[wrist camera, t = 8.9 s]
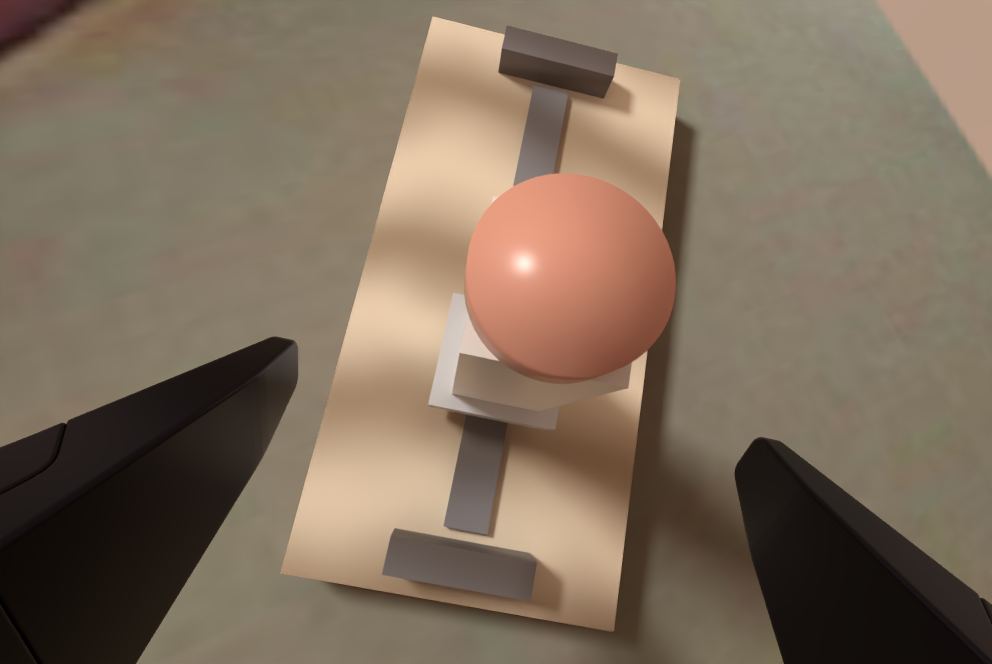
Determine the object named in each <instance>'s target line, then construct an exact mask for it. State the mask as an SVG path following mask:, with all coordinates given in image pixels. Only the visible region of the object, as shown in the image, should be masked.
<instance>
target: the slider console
mask: <svg viewBox="0 0 992 664" xmlns="http://www.w3.org/2000/svg"><path fill="white" fill-rule="evenodd" d="M617 55H618V54H617V53H613V52H609V51H605V50H601V49H597V48H593V47H589V46H585V45H581V44H577V43H573V42H569V41H566V40H562V39H558V38H554V37H550V36H546V35H542V34H538V33H534V32H530V31H526V30H522V29H518V28H515V27H511V26H507V28H506V32H505V35H504V34H500V33H496V32H492V31H488V30H484V29H480V28H476V27H472V26H468V25H464V24H460V23H456V22H452V21H448V20H444V19H441V18H437V17H433V18H432V21H431V25H430V29H429V32H428V36H427V39H426V43H425V47H424V50H423V54H422V58H421V61H420V65H419V69H418V72H417V76H416V80H415V83H414V87H413V91H412V94H411V98H410V102H409V105H408V109H407V112H406V116H405V120H404V123H403V127H402V131H401V134H400V138H399V142H398V145H397V149H396V153H395V156H394V160H393V164H392V167H391V171H390V174H389V178H388V182H387V185H386V189H385V193H384V196H383V200H382V204H381V207H380V211H379V215H378V218H377V222H376V226H375V229H374V233H373V237H372V240H371V244H370V247H369V251H368V255H367V258H366V262H365V266H364V269H363V273H362V277H361V280H360V284H359V288H358V291H357V295H356V299H355V302H354V306H353V309H352V313H351V317H350V320H349V324H348V328H347V331H346V335H345V339H344V342H343V346H342V350H341V353H340V357H339V361H338V364H337V368H336V371H335V375H334V379H333V382H332V386H331V390H330V393H329V397H328V401H327V404H326V408H325V412H324V415H323V419H322V423H321V426H320V430H319V434H318V437H317V441H316V444H315V448H314V452H313V455H312V459H311V463H310V466H309V470H308V474H307V477H306V481H305V485H304V488H303V492H302V496H301V499H300V503H299V506H298V510H297V514H296V517H295V521H294V525H293V528H292V532H291V536H290V539H289V543H288V547H287V550H286V554H285V558H284V561H283V565H282V568H281V572H280V573H282V574H287V575H293V576H299V577H304V578H310V579H316V580H321V581H327V582H333V583H338V584H344V585H350V586H355V587H361V588H367V589H372V590H378V591H384V592H389V593H395V594H401V595H407V596H412V597H418V598H424V599H429V600H435V601H441V602H446V603H452V604H458V605H463V606H469V607H475V608H480V609H486V610H492V611H497V612H503V613H509V614H514V615H520V616H526V617H531V618H537V619H543V620H549V621H554V622H560V623H566V624H571V625H577V626H583V627H588V628H594V629H600V630H605V631H611V632H614V625H615V617H616V609H617V600H618V592H619V584H620V575H621V567H622V559H623V550H624V542H625V534H626V525H627V517H628V509H629V500H630V492H631V484H632V475H633V467H634V459H635V450H636V442H637V434H638V425H639V417H640V409H641V401H642V392H643V384H644V376H645V367H646V359H647V351H648V350H647V351H646V352H645V353H644V354H643V355H641V356H640V357H639V358H638V359H636V360H635V361H633V362H632V365H631V373H630V381H629V388H627V389H623V390H619V391H615V392H611V393H608V394H604V395H600V396H596V397H592V398H588V399H584V400H580V401H576V402H572V403H569V404H565V405H561V406H559V410H558V416H557V423H556V429H555V430H546V431H545V430H541V429H536V428H531V427H526V426H521V425H516V424H511V423H506V422H501V421H496V420H491V419H486V418H481V417H476V416H471V415H466V414H461V413H456V412H451V411H446V410H441V409H436V408H431V407H429V405H428V403H429V398H430V394H431V389H432V385H433V380H434V376H435V372H436V367H437V363H438V358H439V354H440V349H441V345H442V340H443V336H444V331H445V327H446V323H447V318H448V314H449V309H450V305H451V300H452V296H453V293H457V294H462V295H464V278H465V271H466V263H467V256H468V249H469V245H470V241H471V238H472V235H473V232H474V230H475V228H476V226H477V224H478V222H479V220H480V219H481V217H482V215H483V214H484V212H485V211H486V210H487V209H488V207H489V206H490V205H491V204H492V199H493V196H495V197H499V196H501V195H502V194H503V193H504V192H506V191H507V190H509V189H510V188H512V187H513V186H515V185H517V184H519V183H521V182H523V181H526V180H529V179H532V178H535V177H538V176H543V175H548V174H560V173H567V174H579V175H585V176H590V177H593V178H597V179H600V180H603V181H605V182H607V183H610V184H612V185H614V186H616V187H618V188H619V189H621V190H623V191H625V192H626V193H628V194H629V195H630V196H632V197H633V198H634V199H636V200H637V201H638V202H639V203H640V204H641V205H642V206H643V207H644V208H645V209H646V210H647V211H648V212H649V213H650V214H651V216H652V217H653V218H654V219H655V221H656V222H657V224H658V225H659V227H660V228H661V230H662V226H663V217H664V209H665V201H666V192H667V184H668V176H669V167H670V159H671V151H672V142H673V134H674V126H675V117H676V109H677V101H678V93H679V84H680V79H677V78H673V77H669V76H665V75H662V74H658V73H654V72H650V71H646V70H642V69H638V68H634V67H630V66H626V65H622V64H618V63H616V62H617Z"/></svg>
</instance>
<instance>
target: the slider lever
mask: <svg viewBox="0 0 992 664" xmlns="http://www.w3.org/2000/svg"><path fill="white" fill-rule="evenodd" d="M675 294H676V273H675V265H674V260H673V256H672V253H671V250H670V247H669V244H668V242H667V240H666V238H665V236H664V234H663V232H662V230H661V228H660V227H659V225H658V224H657V222H656V221H655V219H654V218H653V217H652V216H651V214H650V213H649V212H648V211H647V210H646V209H645V208H644V207H643V206H642V205H641V204H640V203H639V202H638V201H637V200H636V199H634V198H633V197H632V196H630V195H629V194H628V193H626V192H625V191H623V190H621V189H619V188H618V187H616V186H614V185H612V184H610V183H607V182H605V181H603V180H600V179H597V178H593V177H590V176H585V175H579V174H567V173H560V174H548V175H543V176H538V177H535V178H532V179H529V180H526V181H523V182H521V183H519V184H517V185H515V186H513V187H512V188H510V189H509V190H507V191H506V192H504V193H503V194H502V195H501V196H499V197H495V196H493V199H492V204H491V205H490V206H489V207H488V209H487V210H486V211H485V212H484V214H483V215H482V217H481V219H480V220H479V222H478V224H477V226H476V228H475V230H474V232H473V235H472V238H471V241H470V245H469V249H468V256H467V263H466V271H465V278H464V295H462V294H457V293H453V296H452V300H451V305H450V309H449V314H448V318H447V323H446V327H445V331H444V336H443V340H442V345H441V349H440V354H439V358H438V363H437V367H436V372H435V376H434V380H433V385H432V389H431V394H430V398H429V403H428V405H429V407H431V408H436V409H441V410H446V411H451V412H456V413H461V414H466V415H471V416H476V417H481V418H486V419H491V420H496V421H501V422H506V423H511V424H516V425H521V426H526V427H531V428H536V429H541V430H545V431H546V430H555V429H556V423H557V416H558V410H559V406H561V405H565V404H569V403H572V402H576V401H580V400H584V399H588V398H592V397H596V396H600V395H604V394H608V393H611V392H615V391H619V390H623V389H627V388H629V381H630V373H631V365H632V362H633V361H635V360H636V359H638V358H639V357H640V356H641V355H643V354H644V353H645V352H646V351H647V350H648V349H649V348H650V347H651V346H652V345H653V344H654V343H655V342H656V340H657V339H658V337H659V336H660V335H661V333H662V332H663V330H664V328H665V326H666V324H667V322H668V320H669V318H670V315H671V312H672V308H673V305H674V299H675Z"/></svg>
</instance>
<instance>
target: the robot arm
mask: <svg viewBox="0 0 992 664" xmlns="http://www.w3.org/2000/svg"><path fill="white" fill-rule="evenodd" d="M297 380H298V346H297V343H296V342H295V341H294V340H290V339H286V338H281V337H270V338H268V339H265V340H263V341H260V342H258V343H256V344H253V345H251V346H248V347H246V348H243V349H241V350H238V351H236V352H234V353H231V354H229V355H226V356H224V357H221V358H219V359H217V360H214V361H212V362H209V363H207V364H204V365H202V366H199V367H197V368H195V369H192V370H190V371H187V372H185V373H182V374H180V375H178V376H175V377H173V378H170V379H168V380H165V381H163V382H160V383H158V384H156V385H153V386H151V387H148V388H146V389H143V390H141V391H139V392H136V393H134V394H131V395H129V396H126V397H124V398H121V399H119V400H117V401H114V402H112V403H109V404H107V405H104V406H102V407H99V408H97V409H95V410H92V411H90V412H87V413H85V414H82V415H80V416H77V417H75V418H73V419H70V420H69V421H68V422H67V424H65V423H60V424H58V425H55V426H53V427H50V428H48V429H46V430H43V431H41V432H38V433H36V434H33V435H31V436H28V437H26V438H23V439H21V440H18V441H16V442H13V443H10V444H8V445H5V446H3V447H0V664H136V663H137V661H138V659H139V658H140V656H141V655H142V653H143V651H144V650H145V648H146V647H147V645H148V643H149V642H150V640H151V638H152V637H153V635H154V634H155V632H156V630H157V629H158V627H159V625H160V624H161V622H162V621H163V619H164V617H165V616H166V614H167V612H168V611H169V609H170V608H171V606H172V604H173V603H174V601H175V599H176V598H177V596H178V595H179V593H180V591H181V590H182V588H183V587H184V585H185V583H186V582H187V580H188V578H189V577H190V575H191V574H192V572H193V570H194V569H195V567H196V565H197V564H198V562H199V561H200V559H201V557H202V556H203V554H204V552H205V551H206V549H207V548H208V546H209V544H210V543H211V541H212V539H213V538H214V536H215V535H216V533H217V531H218V530H219V528H220V527H221V525H222V523H223V522H224V520H225V518H226V517H227V515H228V514H229V512H230V510H231V509H232V507H233V505H234V504H235V502H236V501H237V499H238V497H239V496H240V494H241V492H242V491H243V489H244V488H245V486H246V484H247V483H248V481H249V479H250V478H251V476H252V475H253V473H254V471H255V470H256V468H257V466H258V465H259V463H260V461H261V459H262V458H263V456H264V454H265V452H266V450H267V448H268V446H269V444H270V442H271V439H272V437H273V435H274V433H275V431H276V429H277V426H278V424H279V422H280V420H281V418H282V416H283V413H284V411H285V409H286V407H287V405H288V403H289V400H290V398H291V396H292V394H293V392H294V390H295V387H296V384H297ZM735 481H736V486H737V491H738V496H739V501H740V506H741V511H742V516H743V521H744V526H745V531H746V537H747V541H748V545H749V550H750V553H751V557H752V561H753V564H754V567H755V571H756V574H757V577H758V581H759V584H760V587H761V590H762V594H763V597H764V600H765V603H766V607H767V610H768V613H769V617H770V620H771V623H772V626H773V630H774V633H775V636H776V640H777V643H778V646H779V649H780V653H781V656H782V659H783V662H784V664H992V604H990V603H989V602H988V601H986V600H985V599H983V598H980V597H979V595H978V594H977V593H976V592H975V591H973V590H972V589H971V588H970V587H968V586H967V585H966V584H964V583H963V582H962V581H960V580H959V579H958V578H957V577H955V576H954V575H953V574H951V573H950V572H949V571H948V570H946V569H945V568H944V567H942V566H941V565H940V564H939V563H937V562H936V561H935V560H933V559H932V558H931V557H929V556H928V555H927V554H926V553H924V552H923V551H922V550H920V549H919V548H918V547H917V546H915V545H914V544H913V543H911V542H910V541H909V540H908V539H906V538H905V537H904V536H902V535H901V534H900V533H898V532H897V531H896V530H895V529H893V528H892V527H891V526H889V525H888V524H887V523H886V522H884V521H883V520H882V519H880V518H879V517H878V516H876V515H875V514H874V513H873V512H871V511H870V510H869V509H867V508H866V507H865V506H864V505H862V504H861V503H860V502H858V501H857V500H856V499H855V498H853V497H852V496H851V495H849V494H848V493H847V492H845V491H844V490H843V489H842V488H840V487H839V486H838V485H836V484H835V483H834V482H833V481H831V480H830V479H829V478H827V477H826V476H825V475H824V474H822V473H821V472H820V471H818V470H817V469H816V468H814V467H813V466H812V465H811V464H809V463H808V462H807V461H805V460H804V459H803V458H802V457H800V456H799V455H798V454H796V453H795V452H794V451H792V450H791V449H790V448H789V447H787V446H786V445H785V444H783V443H782V442H780V441H778V440H773V439H768V438H764V437H759V438H756V439H755V440H754V441H753V442H752V443H751V445H750V446H749V447H748V449H747V450H746V452H745V453H744V455H743V456H742V458H741V459H740V460H739V462H738V463H737V465H736V468H735Z"/></svg>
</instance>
